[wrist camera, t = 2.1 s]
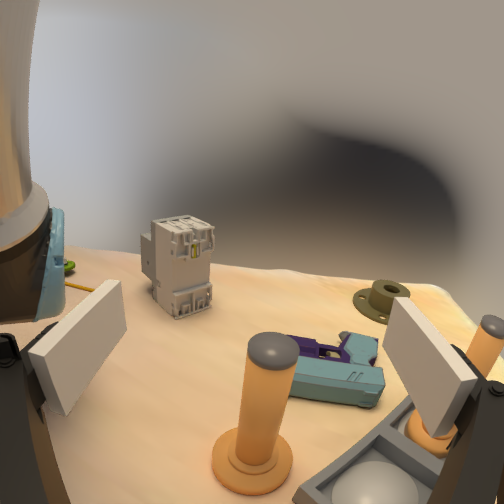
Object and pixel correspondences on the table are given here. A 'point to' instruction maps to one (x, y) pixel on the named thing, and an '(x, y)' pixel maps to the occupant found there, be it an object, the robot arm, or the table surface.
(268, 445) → the orange joystick peg
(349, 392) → the pistol
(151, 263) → the circuit breaker
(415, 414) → the orange capped peg
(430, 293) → the table surface
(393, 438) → the tray
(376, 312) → the flange
